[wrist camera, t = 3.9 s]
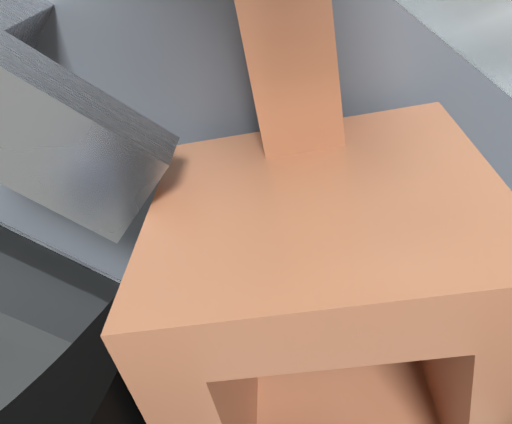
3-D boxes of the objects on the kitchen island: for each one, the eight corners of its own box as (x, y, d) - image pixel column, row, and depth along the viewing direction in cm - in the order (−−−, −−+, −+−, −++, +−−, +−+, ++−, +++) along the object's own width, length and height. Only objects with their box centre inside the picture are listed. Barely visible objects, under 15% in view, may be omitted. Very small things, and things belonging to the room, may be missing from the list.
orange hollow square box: (435, 300, 12) (524, 521, 8) (229, 325, 12) (208, 541, 8) (443, -113, 7) (679, -121, 3) (115, -41, 8) (-61, 34, 4)
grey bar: (369, 209, 11) (406, 321, 8) (321, 258, 12) (337, 376, 9) (11, -23, 9) (-121, 19, 6) (-19, 60, 9) (-149, 134, 6)
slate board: (603, 175, 11) (619, 188, 11) (348, 376, 15) (351, 393, 15) (19, -315, 7) (-1, -331, 6) (-113, 146, 11) (-131, 157, 11)
